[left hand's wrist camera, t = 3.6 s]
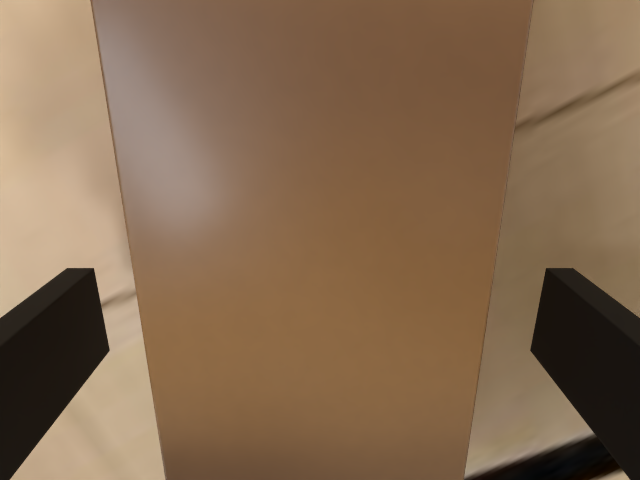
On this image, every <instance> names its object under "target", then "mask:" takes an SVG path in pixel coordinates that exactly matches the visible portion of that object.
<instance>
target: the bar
mask: <svg viewBox="0 0 640 480" xmlns="http://www.w3.org/2000/svg"><path fill="white" fill-rule="evenodd" d="M91 6H92V12H93V18H94V25H95V31H96V38H97V44H98V50H99V57H100V63H101V70H102V76H103V82H104V89H105V95H106V101H107V108H108V114H109V121H110V127H111V133H112V140H113V146H114V153H115V159H116V165H117V172H118V178H119V185H120V191H121V197H122V204H123V210H124V216H125V223H126V229H127V236H128V242H129V248H130V255H131V261H132V268H133V274H134V280H135V287H136V293H137V300H138V306H139V312H140V319H141V325H142V331H143V338H144V344H145V351H146V357H147V363H148V370H149V376H150V383H151V389H152V395H153V402H154V408H155V414H156V421H157V427H158V434H159V440H160V446H161V453H162V459H163V466H164V472H165V478H166V480H464V474H465V467H466V460H467V453H468V446H469V439H470V433H471V426H472V419H473V412H474V405H475V398H476V391H477V385H478V378H479V371H480V364H481V357H482V350H483V343H484V337H485V330H486V323H487V316H488V309H489V302H490V295H491V289H492V282H493V275H494V268H495V261H496V254H497V247H498V241H499V234H500V227H501V220H502V213H503V206H504V199H505V193H506V186H507V179H508V172H509V165H510V158H511V151H512V144H513V138H514V131H515V124H516V117H517V110H518V103H519V96H520V90H521V83H522V76H523V69H524V62H525V55H526V48H527V42H528V35H529V28H530V21H531V14H532V7H533V0H91Z"/></svg>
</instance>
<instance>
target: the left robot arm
mask: <svg viewBox="0 0 640 480" xmlns="http://www.w3.org/2000/svg"><path fill="white" fill-rule="evenodd" d="M109 351H110V350H109V345H108V339H107V334H106V329H105V324H104V319H103V313H102V308H101V303H100V298H99V293H98V287H97V282H96V277H95V272H94V268H67V269H65V270H64V271H63V272H61V273H60V274H59V275H57V276H56V277H55V278H53V279H52V280H51V281H49V282H48V283H47V284H45V285H44V286H43V287H41V288H40V289H39V290H37V291H36V292H35V293H33V294H32V295H31V296H29V297H28V298H27V299H25V300H24V301H23V302H21V303H20V304H19V305H17V306H16V307H15V308H13V309H12V310H11V311H9V312H8V313H7V314H5V315H4V316H3V317H1V318H0V480H10V479H11V477H12V476H13V475H14V473H15V472H16V471H17V469H18V468H19V467H20V466H21V464H22V463H23V462H24V460H25V459H26V458H27V457H28V455H29V454H30V453H31V451H32V450H33V449H34V448H35V446H36V445H37V444H38V442H39V441H40V440H41V439H42V437H43V436H44V435H45V433H46V432H47V431H48V429H49V428H50V427H51V426H52V424H53V423H54V422H55V420H56V419H57V418H58V417H59V415H60V414H61V413H62V411H63V410H64V409H65V408H66V406H67V405H68V404H69V402H70V401H71V400H72V398H73V397H74V396H75V395H76V393H77V392H78V391H79V389H80V388H81V387H82V386H83V384H84V383H85V382H86V380H87V379H88V378H89V377H90V375H91V374H92V373H93V371H94V370H95V369H96V367H97V366H98V365H99V364H100V362H101V361H102V360H103V358H104V357H105V356H106V355H107V353H108V352H109ZM530 351H531V352H532V353H533V355H534V356H535V357H536V358H537V360H538V361H539V362H540V364H541V365H542V366H543V368H544V369H545V370H546V371H547V373H548V374H549V375H550V377H551V378H552V379H553V380H554V382H555V383H556V384H557V386H558V387H559V388H560V389H561V391H562V392H563V393H564V395H565V396H566V397H567V398H568V400H569V401H570V402H571V404H572V405H573V406H574V408H575V409H576V410H577V411H578V413H579V414H580V415H581V417H582V418H583V419H584V420H585V422H586V423H587V424H588V426H589V427H590V428H591V429H592V431H593V432H594V433H595V435H596V436H597V437H598V439H599V440H600V441H601V442H602V444H603V445H604V446H605V448H606V449H607V450H608V451H609V453H610V454H611V455H612V457H613V458H614V459H615V460H616V462H617V463H618V464H619V466H620V467H621V468H622V470H623V471H624V472H625V473H626V475H627V476H628V477H629V479H630V480H640V318H639V317H637V316H636V315H635V314H633V313H632V312H631V311H629V310H628V309H627V308H625V307H624V306H623V305H621V304H620V303H619V302H617V301H616V300H615V299H613V298H612V297H611V296H609V295H608V294H607V293H605V292H604V291H603V290H601V289H600V288H599V287H597V286H596V285H595V284H593V283H592V282H591V281H589V280H588V279H587V278H585V277H584V276H583V275H581V274H580V273H579V272H577V271H576V270H575V269H573V268H546V272H545V277H544V282H543V287H542V292H541V298H540V303H539V308H538V313H537V318H536V324H535V329H534V334H533V339H532V344H531V350H530Z"/></svg>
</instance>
